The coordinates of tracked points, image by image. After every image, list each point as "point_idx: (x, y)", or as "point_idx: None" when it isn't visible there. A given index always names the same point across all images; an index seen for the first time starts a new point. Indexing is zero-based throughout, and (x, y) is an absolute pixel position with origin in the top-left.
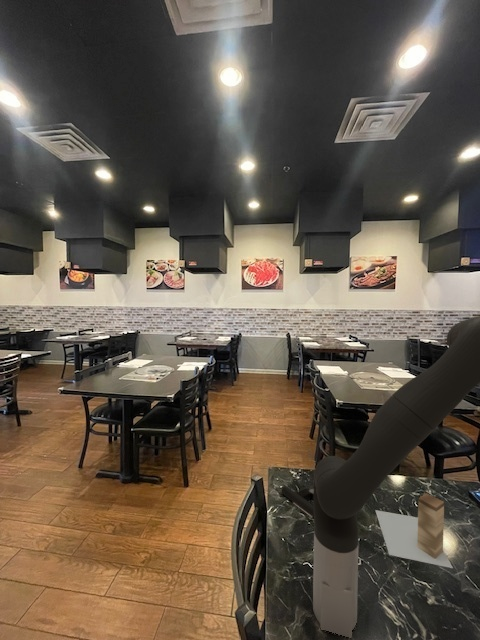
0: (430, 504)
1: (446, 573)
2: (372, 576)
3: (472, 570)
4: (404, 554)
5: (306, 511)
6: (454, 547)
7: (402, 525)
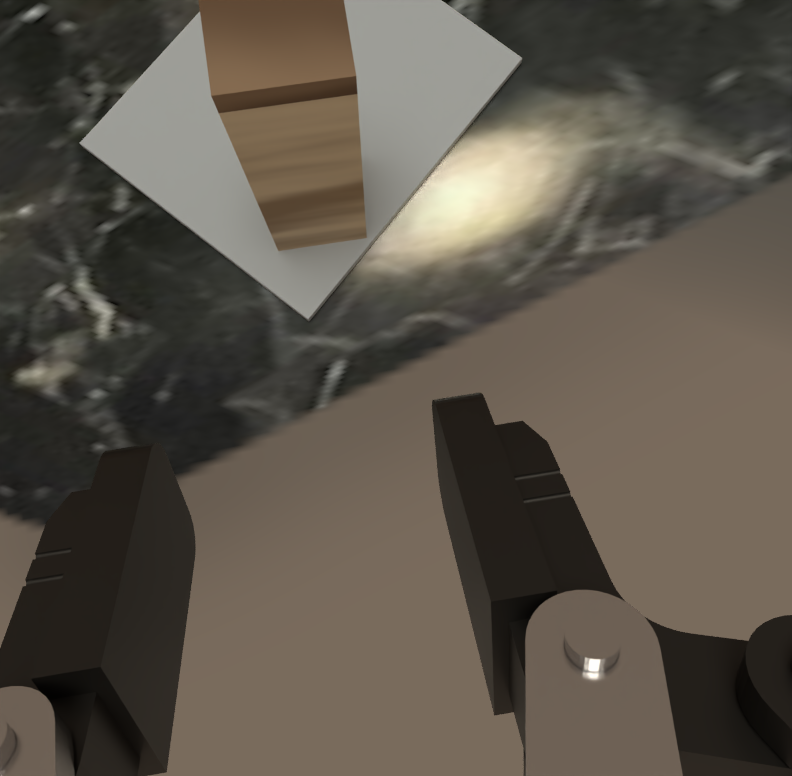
0: (206, 51)
1: (258, 319)
2: None
3: (401, 360)
4: (156, 171)
5: None
6: (469, 241)
7: None
